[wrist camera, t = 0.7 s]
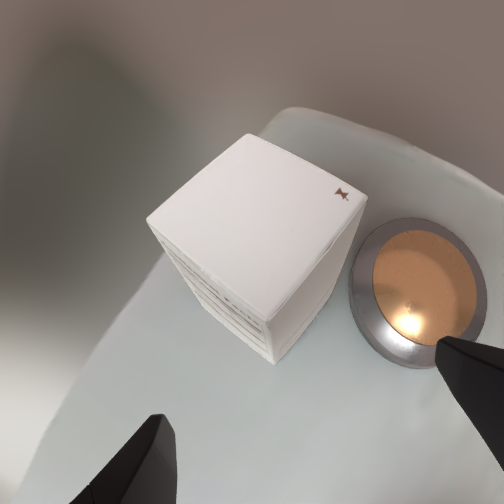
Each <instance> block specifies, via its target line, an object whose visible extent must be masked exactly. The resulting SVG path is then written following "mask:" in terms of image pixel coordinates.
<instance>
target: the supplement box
mask: <svg viewBox="0 0 504 504" xmlns="http://www.w3.org/2000/svg"><path fill="white" fill-rule="evenodd" d="M367 200H368V196H367V195H365V194H364V193H362V192H360V191H359V190H357V189H356V188H354V187H352V186H351V185H349V184H348V183H346V182H344V181H342V180H341V179H339V178H337V177H336V176H334V175H332V174H330V173H328V172H326V171H325V170H323V169H321V168H319V167H317V166H315V165H313V164H312V163H310V162H308V161H306V160H304V159H302V158H300V157H298V156H296V155H294V154H292V153H290V152H288V151H286V150H284V149H282V148H280V147H278V146H276V145H274V144H272V143H270V142H267V141H265V140H264V139H261V138H259V137H257V136H254V135H252V134H246V135H244V136H243V137H242V138H241V139H239V140H238V141H237V142H235V143H234V144H233V145H232V146H231V147H229V148H228V149H227V150H226V151H225V152H223V153H222V154H221V155H219V156H218V157H217V158H216V159H214V160H213V161H212V162H211V163H209V164H208V165H207V166H206V167H205V168H203V169H202V170H201V171H200V172H199V173H198V174H196V175H195V176H194V177H193V178H192V179H190V180H189V181H188V182H187V183H186V184H185V185H183V186H182V187H181V188H180V189H179V190H178V191H177V192H176V193H174V194H173V195H172V196H171V197H170V198H169V199H167V200H166V201H165V202H164V203H163V204H162V205H161V206H160V207H159V208H157V209H156V210H155V211H154V212H153V213H152V214H151V215H150V216H149V217H147V219H146V221H147V223H148V225H149V226H150V228H151V230H152V231H153V233H154V234H155V236H156V237H157V239H158V240H159V242H160V243H161V245H162V246H163V248H164V250H165V251H166V253H167V254H168V256H169V257H170V259H171V260H172V261H173V263H174V264H175V266H176V267H177V269H178V270H179V271H180V273H181V275H182V276H183V278H184V279H185V280H186V282H187V284H188V285H189V287H190V288H191V289H192V291H193V292H194V294H195V295H196V297H197V298H198V300H199V301H200V303H201V304H202V306H203V307H204V308H205V309H206V310H207V311H208V312H210V313H211V314H212V315H213V316H214V317H215V318H217V319H218V320H219V321H220V322H221V323H222V324H224V325H225V326H226V327H227V328H228V329H229V330H231V331H232V332H233V333H234V334H236V335H237V336H238V337H239V338H240V339H242V340H243V341H244V342H245V343H246V344H248V345H249V346H250V347H251V348H253V349H254V350H255V351H256V352H258V353H259V354H260V355H262V356H263V357H264V358H265V359H267V360H268V361H269V362H271V363H272V364H274V365H276V364H277V363H278V361H279V360H280V359H281V358H282V357H283V356H284V355H285V354H286V353H287V351H288V350H289V349H290V348H291V347H292V345H293V344H294V343H295V342H296V341H297V339H298V338H299V337H300V336H301V335H302V333H303V332H304V331H305V330H306V328H307V327H308V326H309V324H310V323H311V322H312V321H313V319H314V318H315V317H316V315H317V314H318V313H319V311H320V310H321V309H322V307H323V306H324V305H325V303H326V302H327V300H328V299H329V298H330V296H331V293H332V291H333V289H334V286H335V284H336V282H337V279H338V277H339V274H340V272H341V269H342V267H343V264H344V262H345V260H346V257H347V254H348V252H349V249H350V247H351V244H352V242H353V239H354V236H355V234H356V231H357V228H358V225H359V223H360V220H361V217H362V214H363V212H364V209H365V206H366V203H367Z"/></svg>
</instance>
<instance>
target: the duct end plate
mask: <svg viewBox="0 0 504 504" xmlns="http://www.w3.org/2000/svg"><path fill="white" fill-rule="evenodd" d="M349 300H350V306H351V310H352V314H353V317H354V319H355V322H356V324H357V326H358V328H359V330H360V332H361V333H362V335H363V336H364V338H365V339H366V341H367V342H368V343H369V344H370V345H371V346H372V347H373V348H374V350H375V351H377V352H378V353H379V354H380V355H382V356H383V357H384V358H386V359H388V360H389V361H391V362H393V363H395V364H398V365H400V366H403V367H407V368H413V369H428V368H432V367H437V366H436V364H435V360H434V358H435V351H436V344H437V341H438V340H439V339H440V338H443V337H445V336H452V337H456V338H460V339H464V340H468V341H472V342H475V341H476V339H477V338H478V336H479V334H480V332H481V330H482V327H483V325H484V321H485V318H486V311H487V290H486V285H485V280H484V277H483V274H482V271H481V269H480V266H479V264H478V262H477V260H476V259H475V257H474V255H473V254H472V252H471V251H470V250H469V248H468V247H467V246H466V245H465V244H464V242H463V241H461V240H460V239H459V238H458V237H457V236H456V235H455V234H453V233H452V232H451V231H449V230H448V229H446V228H445V227H443V226H441V225H439V224H437V223H434V222H431V221H428V220H424V219H418V218H402V219H396V220H393V221H390V222H388V223H386V224H384V225H382V226H380V227H379V228H377V229H376V230H375V231H374V232H372V233H371V234H370V235H369V237H368V238H367V239H366V240H365V242H364V243H363V245H362V247H361V249H360V251H359V253H358V255H357V257H356V259H355V262H354V264H353V267H352V270H351V274H350V279H349Z"/></svg>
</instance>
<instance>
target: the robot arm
mask: <svg viewBox="0 0 504 504" xmlns="http://www.w3.org/2000/svg"><path fill="white" fill-rule="evenodd" d="M434 360H435V364H436V366H437V368H438V370H439V371H440V373H441V375H442V377H443V378H444V380H445V382H446V384H447V385H448V387H449V389H450V391H451V392H452V394H453V396H454V397H455V399H456V400H457V402H458V403H459V405H460V406H461V407H462V409H463V410H464V412H465V413H466V414H467V416H468V417H469V419H470V420H471V422H472V423H473V425H474V426H475V428H476V429H477V430H478V432H479V433H480V435H481V436H482V438H483V439H484V441H485V442H486V444H487V446H488V447H489V449H490V450H491V452H492V453H493V455H494V456H495V458H496V460H497V461H498V463H499V464H500V466H501V468H502V469H503V471H504V349H501V348H497V347H493V346H488V345H484V344H480V343H476V342H472V341H468V340H464V339H460V338H456V337H452V336H445V337H443V338H440V339H439V340H438V341H437V344H436V351H435V358H434ZM176 494H177V461H176V443H175V433H174V430H173V428H172V427H171V425H170V423H169V421H168V420H167V418H166V416H165V415H164V414H153V415H151V416H150V417H149V418H148V419H147V420H146V421H145V422H144V423H143V424H142V426H141V427H140V428H139V429H138V430H137V431H136V432H135V433H134V435H133V436H132V437H131V438H130V439H129V440H128V441H127V442H126V444H125V445H124V446H123V447H122V448H121V449H120V450H119V451H118V453H117V454H116V455H115V456H114V457H113V458H112V459H111V460H110V461H109V462H108V464H107V465H106V466H105V467H104V468H103V469H102V470H101V471H100V472H99V473H98V474H97V476H96V477H95V478H94V479H93V480H92V481H91V482H90V483H89V485H87V486H86V487H85V488H84V489H83V490H82V492H81V493H80V494H79V495H78V496H77V497H76V498H75V499H74V500H73V501H72V502H70V503H69V504H176Z"/></svg>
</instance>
